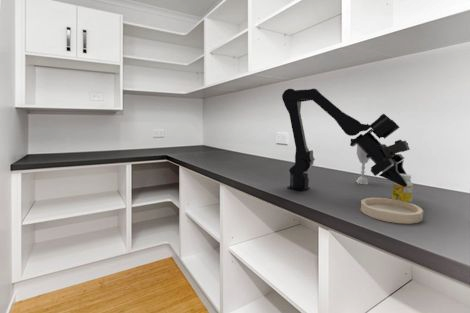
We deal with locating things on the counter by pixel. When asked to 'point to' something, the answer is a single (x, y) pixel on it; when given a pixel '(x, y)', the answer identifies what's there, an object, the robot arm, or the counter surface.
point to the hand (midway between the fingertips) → (407, 184)
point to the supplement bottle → (403, 190)
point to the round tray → (391, 210)
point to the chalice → (363, 160)
